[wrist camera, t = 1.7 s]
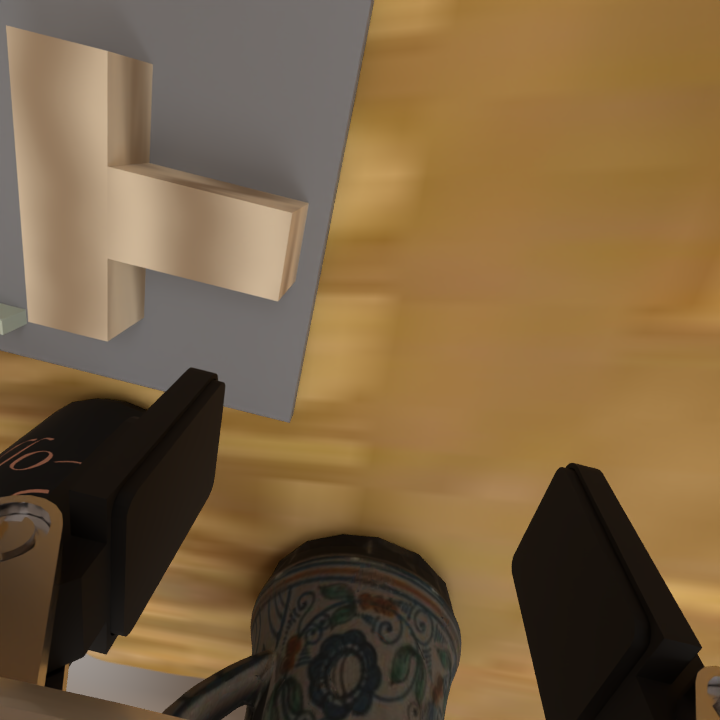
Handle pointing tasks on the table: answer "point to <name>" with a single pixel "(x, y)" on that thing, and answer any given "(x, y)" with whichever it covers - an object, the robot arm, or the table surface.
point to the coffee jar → (60, 445)
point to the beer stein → (341, 640)
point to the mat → (207, 175)
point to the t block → (124, 197)
